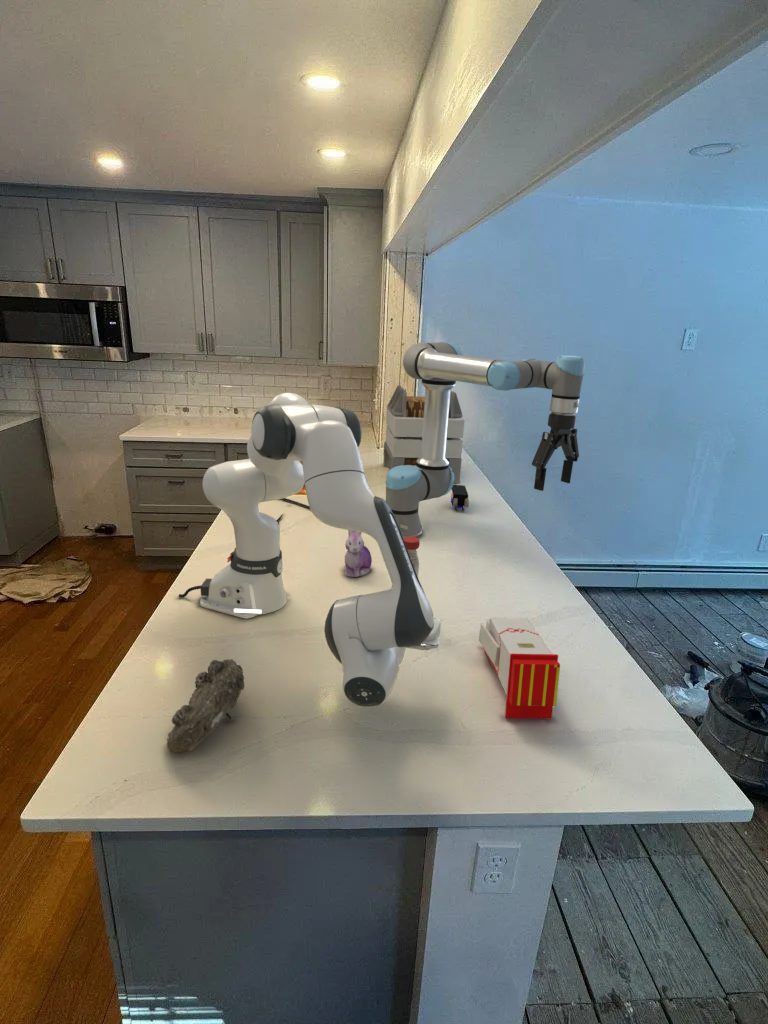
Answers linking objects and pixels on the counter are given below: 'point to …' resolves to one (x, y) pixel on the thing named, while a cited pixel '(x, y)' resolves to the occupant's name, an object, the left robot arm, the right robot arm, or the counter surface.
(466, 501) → the figurine character
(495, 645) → the toy
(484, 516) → the counter surface
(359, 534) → the figurine
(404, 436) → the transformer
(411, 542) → the cap
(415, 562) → the bottle
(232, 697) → the fossil
